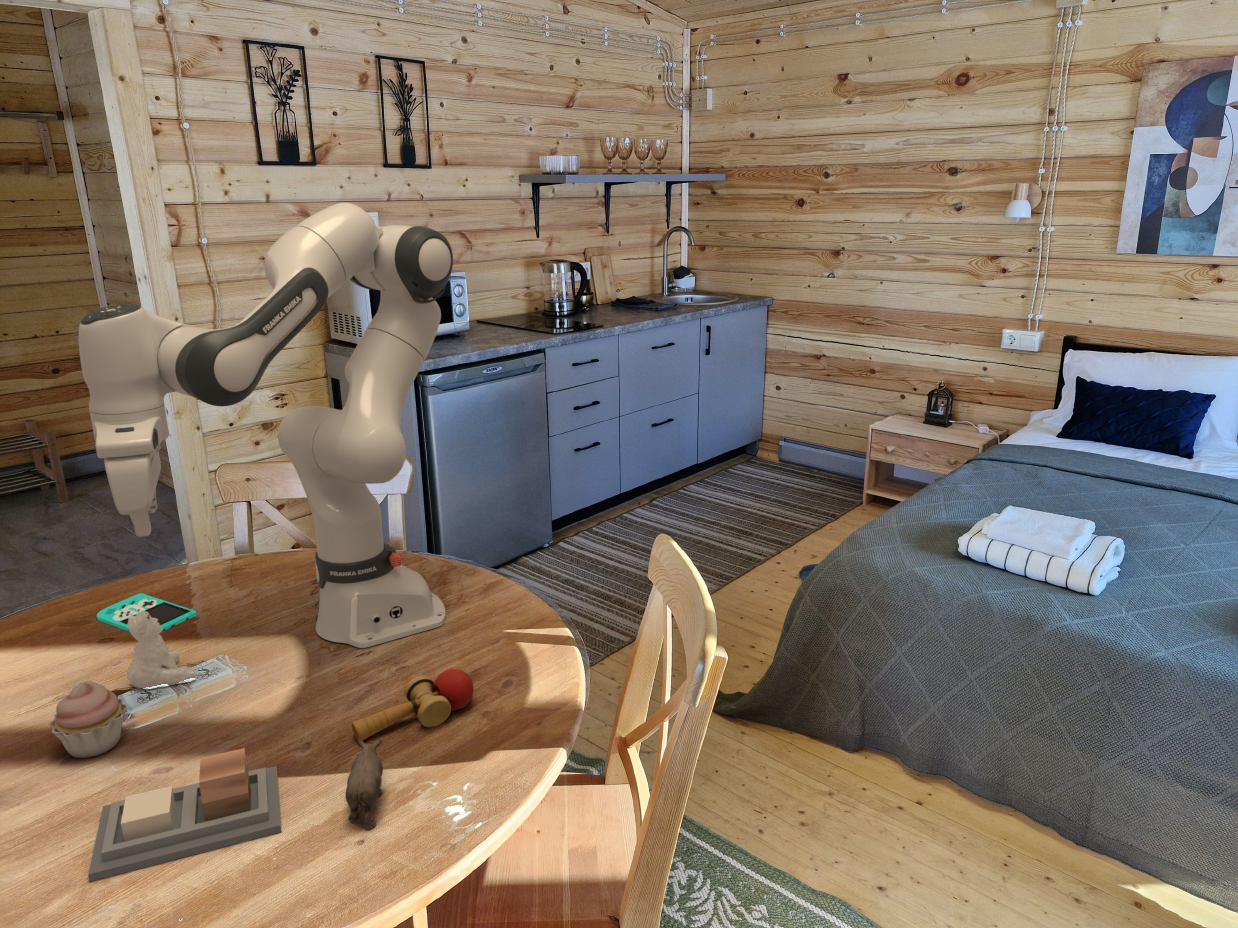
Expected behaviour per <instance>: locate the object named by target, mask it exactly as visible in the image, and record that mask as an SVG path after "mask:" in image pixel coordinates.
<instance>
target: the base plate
mask: <svg viewBox="0 0 1238 928" xmlns="http://www.w3.org/2000/svg"><path fill="white" fill-rule="evenodd" d="M248 775H249V781H250V788H251V811H247V812H243V813H239V814H235V815H231V816H227V817H223V818H219V819H215V820H211V821H207V822H206V821H205V815H204V809H203V803H202V797H201V791H200V785H199V782H196V783H191V784H188V785H184V786H178V787H175V788H173V785H170V786H166V787H161V788H157V789H153V790H149V791H144V792H140V793H136V794H135V793H134V794H132V795H128V796H125V798H124V799H123V800H118V801H114V802H111V804H105V805H102V809H101V813H100V819H99V823H98V828H97V833H96V837H95V842H94V846H93V849H92V850H93V851H92V856H91V861H90V865H89V869H88V879H89V882H94V881H98V880H102V879H106V878H109V877H113V876H117V875H121V874H125V873H129V872H132V871H133V872H134V871H136V870H140V869H144V868H148V867H151V866H152V867H153V866H155V865H159V864H164V863H167V862H172V861H176V860H180V859H183V858H187V857H190V856H194V855H198V854H202V853H206V852H210V851H214V850H217V849H221V848H225V847H229V846H232V845H237V844H240V843H244V842H250V841H253V840H256V839H261V838H264V837H268V836H271V835H275V834H278V833H279V834H280V833H282V832H283V831H282V822H281V821H282V818H281V809H280V808H281V805H280V792H279V791H280V790H279V779H278V768H277V765H274V766H270V767H262V768H261V767H260V768H258V769H253V770H248Z"/></svg>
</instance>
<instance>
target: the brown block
mask: <svg viewBox="0 0 1238 928" xmlns="http://www.w3.org/2000/svg"><path fill="white" fill-rule="evenodd" d="M248 769H249V768H248V763H247V756H246V749H245V747H244V748H240V749H234V750H229V751H225V752H221V753H217V754H212V755H208V756H202V757H200V760H199V775H198V776H199V779H198V783H199V785H200V791H201V797H202V803H203V809H204V815H205V821H206V822H207V821H211V820H215V819H219V818H223V817H227V816H231V815H235V814H239V813H243V812H247V811H251V788H250V781H249V775H248V771H249V770H248Z"/></svg>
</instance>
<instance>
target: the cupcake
mask: <svg viewBox="0 0 1238 928" xmlns="http://www.w3.org/2000/svg"><path fill="white" fill-rule="evenodd" d="M71 689H72V690H71V691H70V692H69V694H68V695H67V696H65V697H63V698H62V699H61V700H60V701H58V703H57V705H56V707H55V708H56V710H55V712H56V713H54V719H53V720H51V721H50V722H48V723H47V725H48V727H50V729H51V732H52V734H53V735H55V736H56V737H57V738H58V739H59V740H60V741H61V743H62V745H63V747H64V748H65V750H66V753H68V754H69V755H70V756H72V757H74V758H78V759H79V758H80V759H81V758H82V759H86V758H91V757H96V756H99V755H102V754H104V753H106V752H108V751H110V750H111V749H113V748H114V747H115V746H116V745H117V744H118V743H119V742H120V739H121V736H122V726H123V720H124V719H123V718H124V717H125V714H126V713H127V710H128V708H129V706H128V704H124V698H118V696H117V695H116V694H115V692H113V691H111V690H109V689H108V688H107V687H105V685H103V684H101V683H98V682H95V681H92V680H88V681H87V680H86V681H83V682H80V683H78V684H76V685H75V686H74V687H72V688H71Z"/></svg>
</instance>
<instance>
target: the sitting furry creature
mask: <svg viewBox="0 0 1238 928" xmlns="http://www.w3.org/2000/svg"><path fill="white" fill-rule="evenodd" d="M157 621H158V619H157V618H152V617H151V616H150V615H149V613H148V612H147V611H146V612H145V611H142V612H139V613H138V614H136V616H129V618H128V624H127V625H128V626H129V631H130V632H129V631H128V632H129V633H130V635H131V636H132V637H133V638H134V639H135V640H136V641H137V642H136V644H135V645H134V646H135V647H134V648H133V651H134V653H133V656H132V659H131V663H130V665H129V667H128V671H127V673H126V674H127V677H126V678H127V680H128V681H129V684H130V685H132V686H133V687H134V688H137V689H141V688H146V687H152V686H157V685H161V684H169V685H173V686H176V685H175V684H177V683H179V682H180V681H184V680H186V679H190V678H196V672H195V670H196V669H195V668H194V667H191V666H190V667H189V666H186V665H182V666H178V665H177V663H179V661H180V654H179V652H178V651H175V650H174V651H173V650H172V651H169V646H168V645H167V644H166V643H165V641H164V639H163V637H162V635H161V633H163V632H164V631H163V629H162V627H161V626H160V624H159V623H158V622H157ZM162 631H163V632H162ZM160 632H161V633H160Z"/></svg>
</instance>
